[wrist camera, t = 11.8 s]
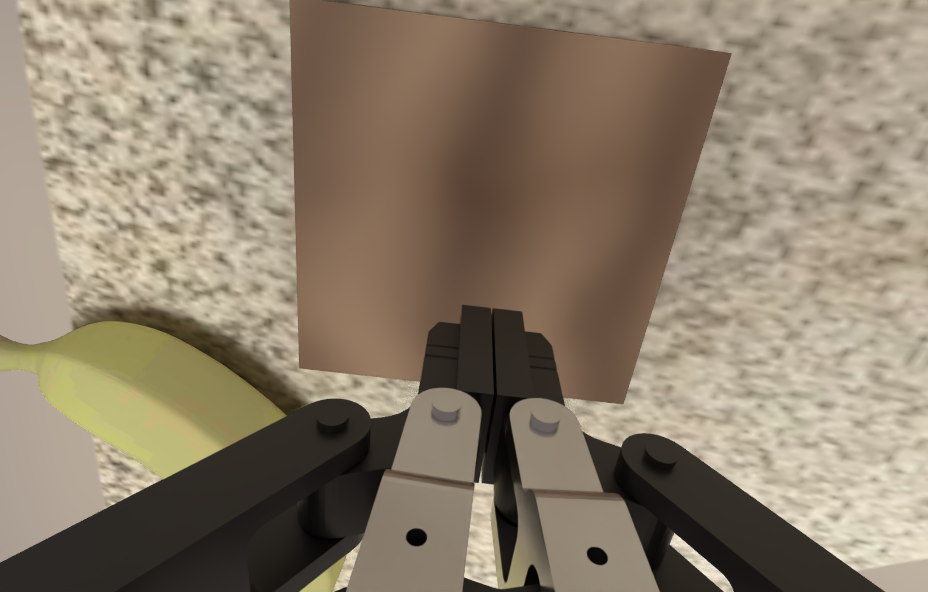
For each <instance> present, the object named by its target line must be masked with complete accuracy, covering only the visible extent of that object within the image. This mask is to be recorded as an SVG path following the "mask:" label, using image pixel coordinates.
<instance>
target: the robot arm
mask: <svg viewBox="0 0 928 592" xmlns="http://www.w3.org/2000/svg"><path fill="white" fill-rule="evenodd" d="M481 466H482V483H486V484H494V498H493V503H492V509H491V526H492V535H493V545H494V554H495V563H496V572H497V581H498V589H496V588H493V587H490V586H487V585H484V584H481V583H478V582H475V581H472V580H470V579H467V578H464V572H465V563H466V555H467V546H468V537H469V528H470V520H471V511H472V502H473V493H474V482H475V483H479V477H480V472H481ZM674 533H675V534H677V535H678V536H679V537H680V538H681V539H682V540H684V541H685V542H686V543H687V544H688V545H690V546H691V547H692V548H693V549H694V550H695V551H697V552H698V553H699V554H700V555H701V556H703V557H704V558H705V559H706V560H707V561H708V562H710V563H711V564H712V565H713V566H714V567H715V568H717V569H718V570H719V571H720V572H721V573H722V574H723V575H724V576H725V577H726V578H727V579H728V581H729V582H730V584H731V586H732V588H733V591H734V592H884V591H883V590H882V589H880V588H879V587H877V586H876V585H874V584H873V583H872V582H870V581H869V580H867V579H866V578H865V577H863V576H862V575H861V574H859V573H858V572H856V571H855V570H854V569H852V568H851V567H849V566H848V565H847V564H845V563H844V562H842V561H841V560H840V559H838V558H837V557H835V556H834V555H833V554H831V553H830V552H828V551H827V550H826V549H824V548H823V547H821V546H820V545H819V544H817V543H816V542H814V541H813V540H812V539H810V538H809V537H807V536H806V535H805V534H803V533H802V532H800V531H799V530H798V529H796V528H795V527H793V526H792V525H791V524H789V523H788V522H786V521H785V520H784V519H782V518H781V517H779V516H778V515H777V514H775V513H774V512H772V511H771V510H770V509H768V508H767V507H765V506H764V505H763V504H761V503H760V502H758V501H757V500H756V499H754V498H753V497H751V496H750V495H749V494H747V493H746V492H744V491H743V490H742V489H740V488H739V487H738V486H736V485H735V484H733V483H732V482H731V481H729V480H728V479H726V478H725V477H724V476H722V475H721V474H719V473H718V472H717V471H715V470H714V469H712V468H711V467H710V466H708V465H707V464H705V463H704V462H703V461H701V460H700V459H698V458H697V457H696V456H694V455H693V454H691V453H690V452H689V451H687V450H686V449H684V448H683V447H682V446H680V445H678V444H677V443H675V442H673V441H672V440H670V439H667V438H665V437H662V436H658V435H654V434H646V433H642V434H635V435H632V436H629V437H628V438H627V439H626V440H625V441H624V442H623V444H622V447H618V446H615V445H612V444H609V443H606V442H603V441H601V440H598V439H595V438H593V437H591V436H589V435H587V434H586V433H584V432H582V429H581V426H580V424H579V421H578V419H577V417H576V416H575V415H574V414H573V413H572V412H571V411H570V410H569V409H568V408H566V407H565V404H564V399H563V395H562V390H561V385H560V381H559V376H558V372H557V367H556V362H555V357H554V353H553V348H552V345H551V344H550V343H549V341H548V340H547V339H546V338H545V337H544V336H543V335H542V333H536V332H527V331H525V328H524V320H523V313H522V311H515V310H506V309H497V308H493V309H492V313H491V308H488V307H479V306H470V305H462V308H461V315H460V323H459V324H456V323H447V322H438V323H437V324H436V325H435V326H434V327H433V328H432V329H431V330H430V331H429V332H428V338H427V344H426V350H425V357H424V362H423V368H422V374H421V380H420V386H419V392H418V395H417V396H416V397H415V398H414V399H413V401H412V403H411V406H410V407H409V408H408V409H407V410H405V411H403V412H401V413H399V414H396V415H392V416H388V417H381V418H373V419H371V418H370V415H369V413H368V412H367V411H366V409H365V408H363V407H362V406H361V405H359V404H357V403H355V402H353V401H349V400H345V399H325V400H320V401H317V402H314V403H312V404H309V405H307V406H305V407H303V408H301V409H299V410H298V411H296V412H294V413H292V414H290V415H288V416H286V417H284V418H282V419H280V420H278V421H276V422H274V423H272V424H270V425H268V426H266V427H264V428H262V429H260V430H258V431H256V432H255V433H253V434H251V435H249V436H247V437H245V438H243V439H241V440H239V441H237V442H235V443H233V444H231V445H229V446H227V447H225V448H223V449H221V450H219V451H217V452H215V453H214V454H212V455H210V456H208V457H206V458H204V459H202V460H200V461H198V462H196V463H194V464H192V465H190V466H188V467H186V468H184V469H182V470H180V471H178V472H176V473H174V474H173V475H171V476H169V477H167V478H165V479H163V480H161V481H159V482H157V483H155V484H153V485H151V486H149V487H147V488H145V489H143V490H141V491H139V492H137V493H135V494H133V495H132V496H130V497H128V498H126V499H124V500H122V501H120V502H118V503H116V504H114V505H112V506H110V507H108V508H106V509H104V510H102V511H100V512H98V513H97V514H94V515H93V516H91V517H89V518H87V519H85V520H83V521H81V522H79V523H77V524H75V525H73V526H71V527H69V528H67V529H66V530H63V531H61V532H59V533H57V534H55V535H54V536H52V537H50V538H48V539H46V540H44V541H42V542H40V543H38V544H36V545H34V546H32V547H30V548H28V549H26V550H24V551H22V552H20V553H19V554H16V555H14V556H12V557H10V558H8V559H7V560H5V561H3V562H1V563H0V592H300V591H301V590H302V589H303V588H305V587H306V586H307V585H308V584H310V583H311V582H312V581H313V580H315V579H316V578H317V577H319V576H320V575H321V574H322V573H324V572H325V571H326V570H327V569H329V568H330V567H331V566H332V565H334V564H335V563H336V562H337V561H339V560H340V559H341V558H343V557H344V556H345V555H346V554H348V553H349V552H350V551H351V550H353V549H354V548H355V547H356V546H357V545H358V544H359V543H360V542H361V540H362V539H363V540H362V543H361V546H360V549H359V552H358V555H357V558H356V562H355V565H354V568H353V571H352V574H351V577H350V580H349V584H348V587H345V588H343V589H340V590H338V591H335V592H723V591H722V590H721V589H720V588H719V587H718V586H716V585H715V584H714V583H713V582H712V581H711V580H709V579H708V578H707V577H706V576H705V575H704V574H703V573H701V572H700V571H699V570H698V569H697V568H696V567H695V566H693V565H692V564H691V563H690V562H689V561H688V560H687V559H685V558H684V557H683V556H682V555H681V554H680V553H679V552H677V551H676V550H675V549H674V548H673V547H672V546H671V545H669V544H670V542H671V539H672V537H673V535H674Z"/></svg>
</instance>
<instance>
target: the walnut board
mask: <svg viewBox="0 0 928 592" xmlns="http://www.w3.org/2000/svg"><path fill="white" fill-rule="evenodd" d="M290 33H291V71H292V109H293V147H294V185H295V223H296V260H297V298H298V336H299V368H302V369H311V370H320V371H329V372H338V373H347V374H356V375H365V376H374V377H383V378H392V379H401V380H410V381H419V382H420V380H421V374H422V368H423V362H424V357H425V350H426V344H427V338H428V332H429V331H430V330H431V329H432V328H433V327H434V326H435V325H436V324H437V323H438V322H447V323H456V324H459V323H460V315H461V308H462V305H470V306H479V307H488V308H491V313H492V309H493V308H497V309H506V310H515V311H522V313H523V320H524V328H525V331H527V332H536V333H542V335H543V336H544V337H545V338H546V339H547V340H548V341H549V343H550V344H551V345H552V348H553V353H554V357H555V362H556V367H557V372H558V376H559V381H560V385H561V390H562V395H563V398H572V399H581V400H590V401H599V402H608V403H617V404H624V400H625V397H626V394H627V391H628V387H629V384H630V381H631V378H632V374H633V371H634V368H635V365H636V361H637V358H638V355H639V352H640V348H641V345H642V342H643V339H644V336H645V332H646V329H647V326H648V323H649V319H650V316H651V313H652V310H653V306H654V303H655V300H656V297H657V293H658V290H659V287H660V284H661V280H662V277H663V274H664V271H665V267H666V264H667V261H668V258H669V255H670V251H671V248H672V245H673V242H674V238H675V235H676V232H677V229H678V225H679V222H680V219H681V216H682V212H683V209H684V206H685V203H686V199H687V196H688V193H689V190H690V186H691V183H692V180H693V177H694V174H695V170H696V167H697V164H698V161H699V157H700V154H701V151H702V148H703V144H704V141H705V138H706V135H707V131H708V128H709V125H710V122H711V118H712V115H713V112H714V109H715V105H716V102H717V99H718V96H719V93H720V89H721V86H722V83H723V80H724V76H725V73H726V70H727V67H728V63H729V60H730V57H731V54H732V53H726V52H719V51H712V50H705V49H698V48H690V47H682V46H674V45H666V44H659V43H651V42H643V41H635V40H628V39H620V38H612V37H604V36H597V35H589V34H581V33H573V32H565V31H558V30H550V29H542V28H534V27H527V26H519V25H511V24H503V23H496V22H488V21H480V20H472V19H464V18H457V17H449V16H441V15H433V14H426V13H418V12H410V11H402V10H395V9H387V8H379V7H371V6H363V5H356V4H348V3H340V2H332V1H325V0H290Z"/></svg>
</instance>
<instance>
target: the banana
mask: <svg viewBox="0 0 928 592" xmlns="http://www.w3.org/2000/svg"><path fill="white" fill-rule="evenodd" d="M11 370H26V371H29V372H32V373H34V374H37V375H38V382H39V387H40V390H41V392H42V394H43V396H44V397H45V399H46V400H47V401H48V402H49V403H50V404H51V405H53V406H54V407H55V408H56V409H57V410H59V411H60V412H61V413H63V414H64V415H65V416H66V417H68V418H69V419H70V420H72V421H73V422H75V423H76V424H78V425H79V426H81V427H82V428H84V429H85V430H86V431H88V432H90V433H91V434H93V435H95V436H97V437H98V438H100V439H102V440H103V441H105V442H107V443H108V444H110V445H112V446H113V447H115V448H117V449H118V450H120V451H122V452H123V453H125V454H127V455H128V456H130V457H132V458H133V459H135V460H137V461H138V462H140V463H141V464H143V465H144V466H145V467H147V468H148V469H150V470H151V471H153V472H154V473H156V474H157V475H159V476H160V477H161V478H163V479H165V478H167V477H169V476H171V475H173V474H174V473H176V472H178V471H180V470H182V469H184V468H186V467H188V466H190V465H192V464H194V463H196V462H198V461H200V460H202V459H204V458H206V457H208V456H210V455H212V454H214V453H215V452H217V451H219V450H221V449H223V448H225V447H227V446H229V445H231V444H233V443H235V442H237V441H239V440H241V439H243V438H245V437H247V436H249V435H251V434H253V433H255V432H256V431H258V430H260V429H262V428H264V427H266V426H268V425H270V424H272V423H274V422H276V421H278V420H280V419H282V418H284V417H286V415H285V414H284V413H283V412H282V411H281V410H280V409H279V408H278V407H277V406H276V405H275V404H273V403H272V402H271V401H270V400H269V399H267V398H266V397H265V396H264V395H262V394H261V393H260V392H259V391H258V390H256V389H255V388H254V387H252V386H251V385H250V384H249V383H247V382H246V381H245V380H243V379H242V378H241V377H239V376H238V375H237V374H235V373H234V372H232V371H231V370H230V369H228V368H227V367H225V366H224V365H222V364H221V363H219V362H218V361H216V360H215V359H213V358H211V357H210V356H208V355H206V354H205V353H203V352H201V351H200V350H198V349H196V348H194V347H192V346H191V345H189V344H187V343H185V342H183V341H181V340H180V339H177V338H175V337H173V336H171V335H169V334H167V333H165V332H162V331H159V330H156V329H153V328H150V327H146V326H143V325H138V324H133V323H127V322H118V321H103V322H97V323H92V324H89V325H85V326H82V327H80V328H78V329H76V330H74V331H72V332H70V333H68V334H66V335H64V336H62V337H60V338H58V339H56V340H52V341H49V342H44V343H40V344H36V345H27V344H21V343H18V342H14V341H12V340H9V339H8V338H5V337H3V336H1V335H0V372H3V371H11ZM346 555H347V554H346ZM346 555H345V556H344V557H343V558H341V559H340V560H339V561H337V562H336V563H335V564H334V565H332V566H331V567H330V568H329V569H327V570H326V571H325V572H324V573H322V574H321V575H320V576H319V577H317V578H316V579H315V580H313V581H312V582H311V583H310V584H308V585H307V586H306V587H305V588H303V589H302V590H301V591H300V592H332V591H333V588H334V586H335V584H336V581H337V579H338V577H339V574H340V572H341V569H342V566H343V564H344V561H345V558H346Z"/></svg>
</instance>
